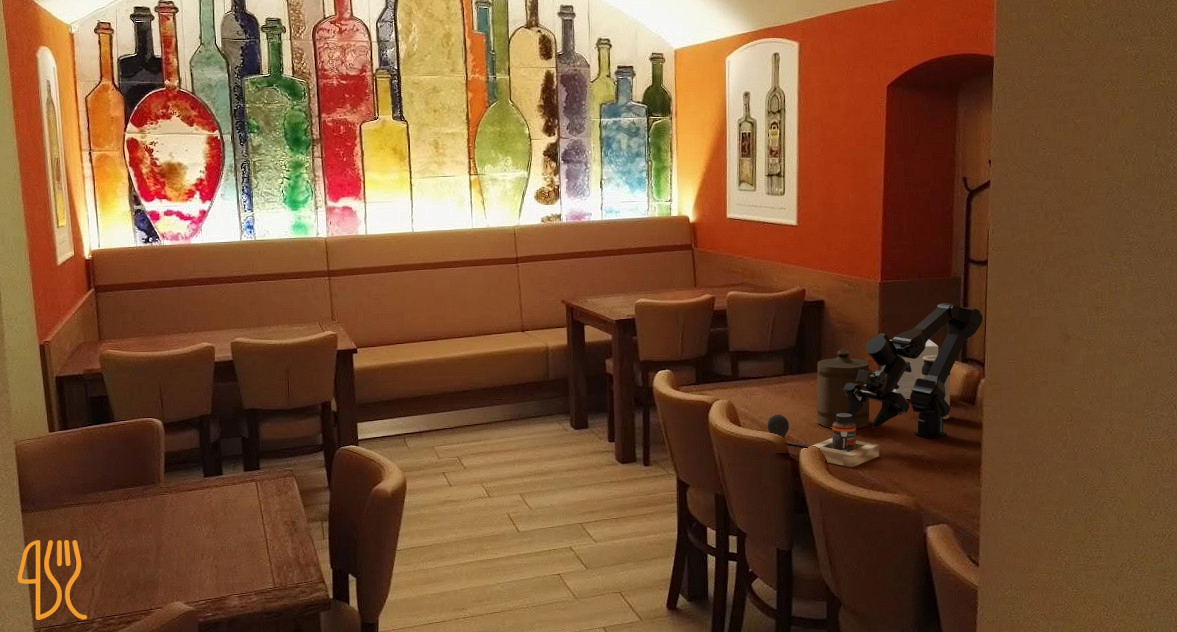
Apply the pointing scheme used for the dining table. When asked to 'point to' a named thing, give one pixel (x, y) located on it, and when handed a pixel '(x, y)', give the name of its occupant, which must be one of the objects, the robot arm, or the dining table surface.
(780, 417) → the light bulb
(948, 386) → the travel mug
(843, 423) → the supplement bottle
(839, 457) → the cream square shallow tray
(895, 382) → the robot arm
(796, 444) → the dark grey rod
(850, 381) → the wooden container
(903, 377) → the supplement box
